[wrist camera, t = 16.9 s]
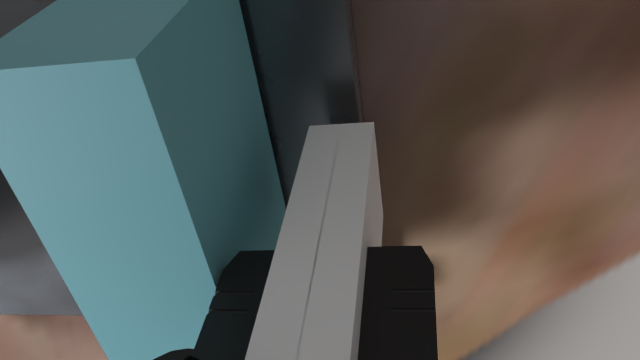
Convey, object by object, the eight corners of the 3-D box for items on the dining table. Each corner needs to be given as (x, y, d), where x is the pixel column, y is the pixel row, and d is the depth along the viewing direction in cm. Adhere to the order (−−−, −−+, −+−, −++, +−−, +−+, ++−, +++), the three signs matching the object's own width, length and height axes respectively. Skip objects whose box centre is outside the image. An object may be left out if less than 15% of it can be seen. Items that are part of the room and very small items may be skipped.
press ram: (195, 292, 18) (133, 441, 14) (72, -25, 12) (-88, 77, 8) (304, 292, 17) (272, 449, 13) (229, -43, 12) (135, 58, 8)
